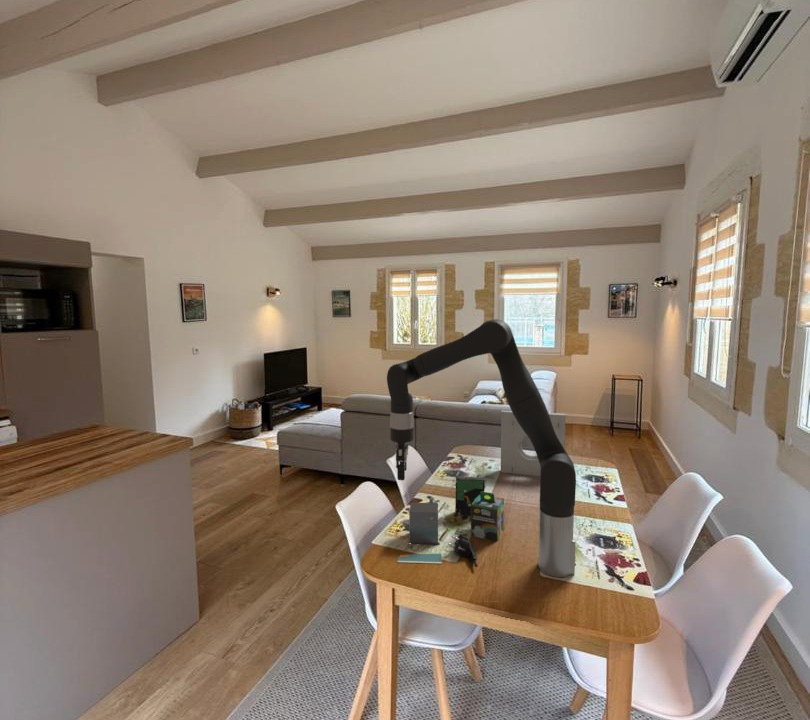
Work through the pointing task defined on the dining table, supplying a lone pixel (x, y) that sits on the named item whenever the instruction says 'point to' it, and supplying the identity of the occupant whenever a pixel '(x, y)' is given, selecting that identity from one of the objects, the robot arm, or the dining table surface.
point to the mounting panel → (512, 449)
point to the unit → (423, 523)
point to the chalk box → (487, 516)
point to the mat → (421, 558)
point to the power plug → (464, 548)
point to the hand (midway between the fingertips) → (402, 474)
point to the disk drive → (467, 493)
